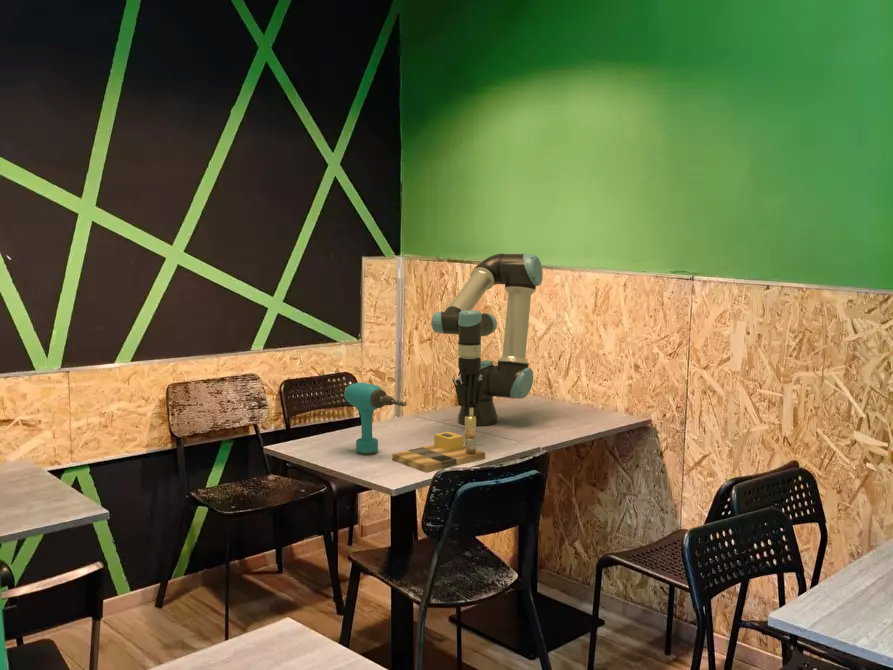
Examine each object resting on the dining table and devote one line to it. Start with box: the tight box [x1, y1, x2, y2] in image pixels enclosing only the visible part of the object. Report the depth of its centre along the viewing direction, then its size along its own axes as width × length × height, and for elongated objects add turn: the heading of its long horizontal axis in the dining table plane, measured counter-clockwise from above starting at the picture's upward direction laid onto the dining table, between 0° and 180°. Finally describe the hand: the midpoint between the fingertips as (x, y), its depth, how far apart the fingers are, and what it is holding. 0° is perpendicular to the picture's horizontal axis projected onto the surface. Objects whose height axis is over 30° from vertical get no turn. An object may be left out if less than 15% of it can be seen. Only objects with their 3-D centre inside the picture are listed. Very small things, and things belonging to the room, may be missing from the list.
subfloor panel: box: [391, 444, 486, 473], centre depth 274 cm, size 18×24×2 cm
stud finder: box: [433, 431, 465, 451], centre depth 281 cm, size 8×6×4 cm
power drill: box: [343, 382, 408, 456], centre depth 277 cm, size 28×9×23 cm, turn 48°
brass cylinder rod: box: [464, 415, 477, 454], centre depth 273 cm, size 3×3×12 cm
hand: (469, 426), depth 286 cm, fingers closed
